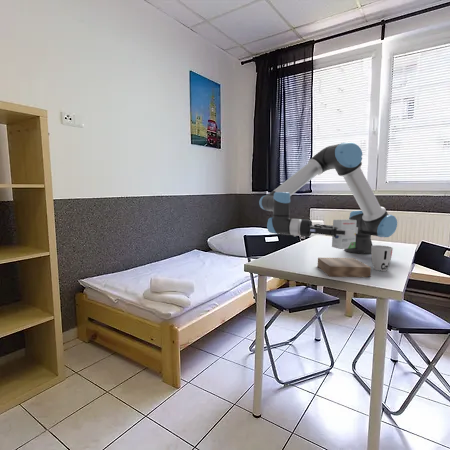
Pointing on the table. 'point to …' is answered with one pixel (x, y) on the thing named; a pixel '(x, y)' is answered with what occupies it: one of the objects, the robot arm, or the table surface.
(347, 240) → the ink box
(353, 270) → the walnut stand
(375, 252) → the cup
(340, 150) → the robot arm
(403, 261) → the table surface
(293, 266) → the table surface
